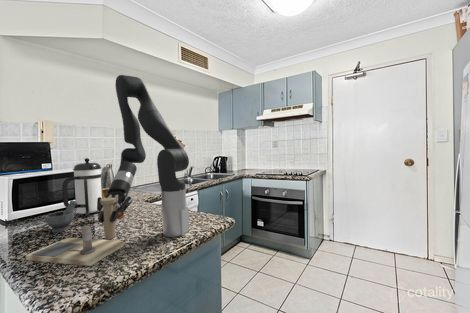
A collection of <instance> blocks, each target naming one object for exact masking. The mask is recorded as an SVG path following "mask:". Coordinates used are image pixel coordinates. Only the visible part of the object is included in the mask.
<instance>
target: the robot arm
mask: <svg viewBox="0 0 470 313" xmlns="http://www.w3.org/2000/svg"><path fill="white" fill-rule="evenodd" d="M115 92H116V97H117V102H118V105H119V111H120V115H121V120H122V126H123V128H122V129H123V138H124V140H123V141H124V143H126V144H130V145H133V148H132V147H130V148H129V147H128V148H124V149H123V150H122V151H121V154H120V163H119V168H118V170H117V171H116V174H115V175H114V177H113V179H112V181H111V183H110V184H109V187H108V188H109V190H108V194H107V195H106V196H105V197H104V198H109V197H112V198H116V202H115V203H114V204H113V206H115V207H114V211H113V212H112V215H111V217H110V222H111V223H114V221H115V222H116V221H117V219H118V218H117V216H118V214H119V213H120V212H124V213H125V212H126V210H127V209H128V208H129V207H130V205H131V204H132V203H133V198H132V197H131V196H129V193H130V191H131V187H132V184H133V182H134V178H135V175H136V173H137V165H136V164H142V163H144V162H145V160H146V158H147V154H146V151H145V148H144V146H143V142H142V139H141V138H142V137H141V128H142V129H143V132H145V133H146V135H147V136H148V137H150V138H151V139H152V140H154V141H155V142H157V143H158V144H159V145H160V146H162V147H163V149H161V150H160V151H159V152H158V154H157V156H156V158H157V159H156V161H157V162H156V165H157V176H158V182H159V186H160V191H161V192H160V193H161V194H160V195H161V211H162V212H161V214H162V215H161V216H162V230H163V231H162V232H163V236H165V237H169V238H171V237H172V238H174V237H182V236H184V235H186V234H187V233H188V232H189V231H190V217H189V216H190V215H189V206H187V195H186V192H187V191H186V182H185V181H184V180H181V179H178V177H177V175H176V172H177V173H178V172H183V171H185V170H187V168H188V167H189V164H190V159H189V156H188V153H187V152H186V150H185V148H183V146H182V145H181V144H180V142H179V141H178V140H177V138H176V137H175V136H174V134H173V133H172V131H171V130H170V128H169V126H168V125H167V123H166V122H165V120H164V118H163V116H162V114H161V113H160V111H159V110H158V109H157V106H156V105H155V103H154V101H153V98H151V95H150V94H149V90H148V89H147V87H146V85H145V82H144V81H143V80H142V79H141V78H139V77H137V76H132V75H126V74H125V75H124V74H119V75H118V76H117V77H116V78H115ZM129 98H134V99H137V101H138V102H139V104H140V106H139V109H138V113H137V117H136V115H135V113H134V112H133V111H132V109H131V106H130V105H129ZM101 199H103V198H101V197H99V198H98V199H97V210H98V211H97V212H99V213H100V214H99V215H98V217H97V220H98V222H99V223H101V224H104V207H103V205H101V203H100V200H101ZM122 203H123V204H122Z"/></svg>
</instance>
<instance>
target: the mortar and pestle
mask: <svg viewBox="0 0 470 313" xmlns="http://www.w3.org/2000/svg"><path fill="white" fill-rule="evenodd" d="M76 204H77V202H76V201H75V200H74V199H73V200H70V201H69V205H68V207H67V208H66V207H65V208H66V209H65V210H62V211H58V212H57V211H55V212H53V213H49V214H47V215H45V216H44V220H45V223H46V225H47V226H48V227H50V228H51V233H60V232H64V231H67V230H69V229H71V223H72V222H73V220H74V219H75V216H74V213H75V211H74V209H75V208H74V207H75V205H76Z"/></svg>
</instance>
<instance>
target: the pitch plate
mask: <svg viewBox="0 0 470 313" xmlns="http://www.w3.org/2000/svg"><path fill="white" fill-rule="evenodd" d="M123 246H125V241H124V240H116V239H100V238H99V239H96V238H92V225H84V226H82V227H81V237H80V238H79V237H66V238H64V239H62V240H59V241H57V242H54V243H52V244H49V245H47V246H44V247H43V248H40V249H38V250H35V251H33V252H31V253H28V254H25V261H30V262H31V261H32V262H41V263H53V264H65V265H74V266H75V265H77V266H78V265H79V266H87V267H92V266H94V265H95V264H96V263H98V262H99V261H101V260H103V259H104V258H106V257H108V256H109V255H112V254H113V253H114V252H116V251H117V250H119V249H120V248H122V247H123Z"/></svg>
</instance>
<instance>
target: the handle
mask: <svg viewBox="0 0 470 313" xmlns="http://www.w3.org/2000/svg"><path fill="white" fill-rule="evenodd" d="M115 202H116V198H112V197H109V198H103V199H101V200H100V203H101V205H103V207H104V222H103V231H104V237H105V240H113V239H114V238H115V236H116V220H115V221H114V223H111V222H110V217H111V215H112V212H113V211H114V208H113V204H114V203H115Z"/></svg>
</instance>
